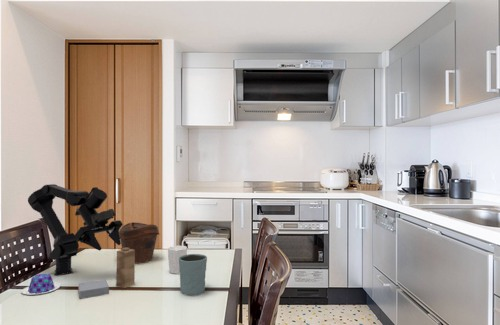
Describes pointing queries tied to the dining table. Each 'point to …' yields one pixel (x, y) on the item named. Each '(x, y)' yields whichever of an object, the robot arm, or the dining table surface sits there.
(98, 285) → the base brick
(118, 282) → the column
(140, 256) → the brown basket
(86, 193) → the robot arm
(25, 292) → the purple patterned hat
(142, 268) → the dining table surface
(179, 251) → the white cup
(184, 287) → the green cup
